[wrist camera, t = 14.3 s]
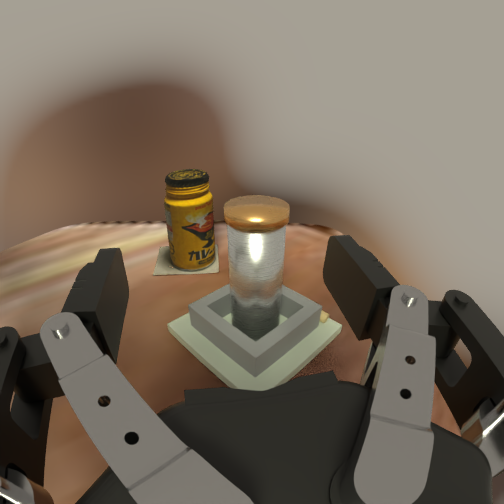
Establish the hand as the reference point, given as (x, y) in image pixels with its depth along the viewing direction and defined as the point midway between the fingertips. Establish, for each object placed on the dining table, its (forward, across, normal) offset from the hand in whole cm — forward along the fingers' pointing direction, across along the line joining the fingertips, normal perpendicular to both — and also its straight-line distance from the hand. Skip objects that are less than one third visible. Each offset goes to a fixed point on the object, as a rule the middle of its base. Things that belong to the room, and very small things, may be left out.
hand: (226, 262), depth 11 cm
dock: (+11, -4, +15) cm, 19 cm away
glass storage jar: (+10, -4, +14) cm, 18 cm away
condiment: (+26, +3, +16) cm, 30 cm away
